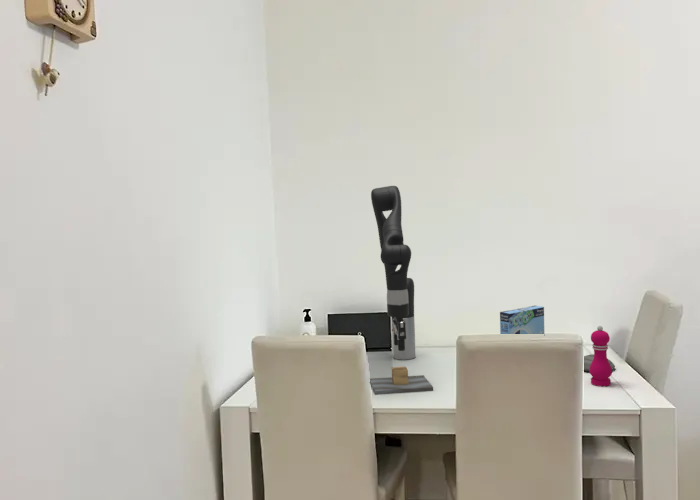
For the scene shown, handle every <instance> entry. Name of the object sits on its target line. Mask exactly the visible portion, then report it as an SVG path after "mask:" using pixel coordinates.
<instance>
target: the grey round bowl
mask: <svg viewBox="0 0 700 500" xmlns="http://www.w3.org/2000/svg"><path fill="white" fill-rule="evenodd" d="M583 356H584V370H583V371H585V372H589V369H590V365H591V363H592V361H593V358H594V353H593V354H591V353H590V354H587V355H583ZM607 360H608V362H609V364H610V366H611V369H612V370H613V369H615V367H616V365H615V363H613V362H612V361H611V360H610V359H608V358H607Z"/></svg>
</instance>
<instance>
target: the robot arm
mask: <svg viewBox="0 0 700 500" xmlns="http://www.w3.org/2000/svg"><path fill="white" fill-rule="evenodd" d="M370 197H371V205H372V208H373V212H374V217H375V222H376V225H377V231H378V232H377V233H378V237H379V238H378V239H379V245H380V260H381V262H382V264H383V266H384V272H385V283H386V309H387V310H386V311H387V313H386V314H387V316H388V317H390V318H391V331H392V354H393V355H392V358H393V359H396V360H400V361H401V360H402V361H403V360H413V359H415V358H416V334H415V333H416V332H415V331H416V330H415V329H416V328H415V283H414V280H413V278H411V277H408V271H409V266H410V263H411V258H412V249H411V247H410V246H409V245H407V244H404V243H405V242H404V235H403V234H404V233H403V227H402V197H401V192H400V189H399V187H398V186H397V185H388V186H382V187H376V188H373V189H372V190H371V193H370ZM389 211H391V212H390V214H388V216H387V217H386V216H385V214H384V212H389ZM398 266H400V267H399V269H398V270H397V268H398Z"/></svg>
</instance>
